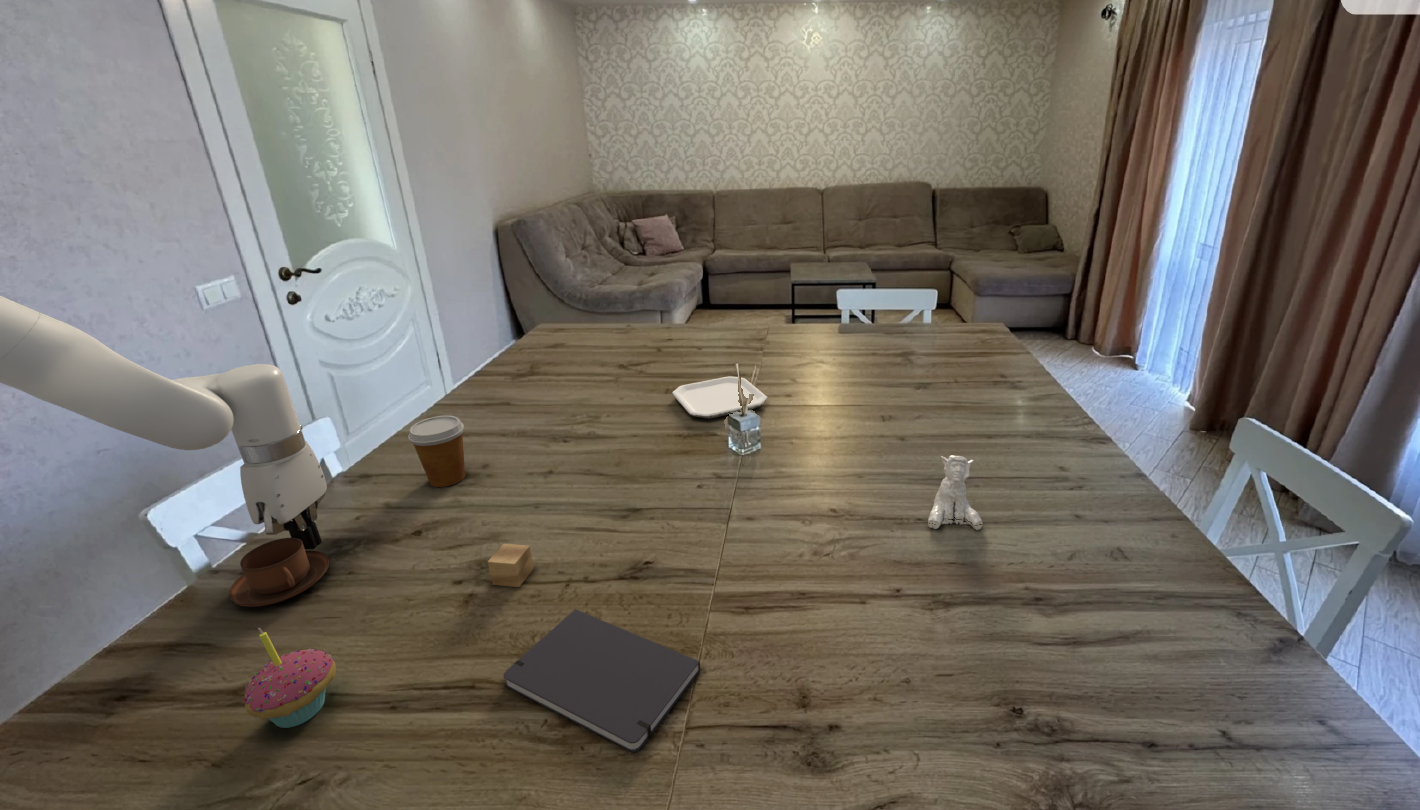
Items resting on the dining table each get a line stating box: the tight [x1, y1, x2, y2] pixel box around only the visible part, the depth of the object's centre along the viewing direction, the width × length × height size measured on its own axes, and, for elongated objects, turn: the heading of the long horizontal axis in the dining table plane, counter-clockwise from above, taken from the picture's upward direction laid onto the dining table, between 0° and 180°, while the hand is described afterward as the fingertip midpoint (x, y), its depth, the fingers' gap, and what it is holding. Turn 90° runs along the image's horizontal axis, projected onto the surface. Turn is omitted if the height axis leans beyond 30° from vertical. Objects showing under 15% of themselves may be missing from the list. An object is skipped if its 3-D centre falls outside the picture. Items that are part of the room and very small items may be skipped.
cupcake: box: [243, 627, 337, 729], centre depth 71 cm, size 9×8×12 cm
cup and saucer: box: [228, 537, 330, 608], centre depth 93 cm, size 12×12×6 cm
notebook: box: [503, 608, 701, 753], centre depth 77 cm, size 13×2×21 cm
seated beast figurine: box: [927, 455, 984, 531], centre depth 108 cm, size 10×9×12 cm
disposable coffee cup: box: [407, 415, 466, 488], centre depth 120 cm, size 10×10×12 cm
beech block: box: [487, 543, 535, 588], centre depth 95 cm, size 4×4×4 cm
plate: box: [671, 375, 768, 420], centre depth 157 cm, size 21×21×2 cm
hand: (308, 546), depth 98 cm, fingers closed
